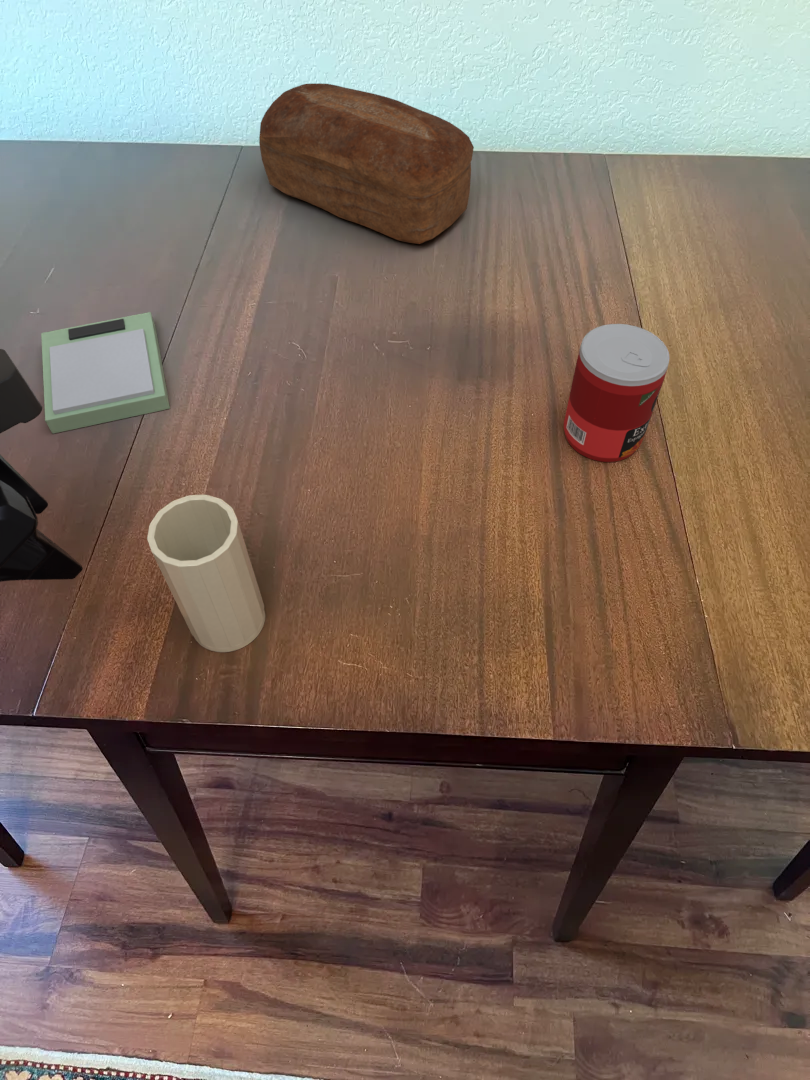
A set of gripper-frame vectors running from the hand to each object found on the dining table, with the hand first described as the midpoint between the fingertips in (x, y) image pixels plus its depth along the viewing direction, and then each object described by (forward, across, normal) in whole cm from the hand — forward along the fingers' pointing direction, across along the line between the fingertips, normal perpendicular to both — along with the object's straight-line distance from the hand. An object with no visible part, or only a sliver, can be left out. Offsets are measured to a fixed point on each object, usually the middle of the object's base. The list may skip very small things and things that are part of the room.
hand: (60, 539), depth 57 cm
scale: (+10, +31, -8) cm, 33 cm away
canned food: (+33, -6, -39) cm, 51 cm away
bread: (+25, +42, -47) cm, 68 cm away
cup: (+15, -3, -2) cm, 16 cm away
